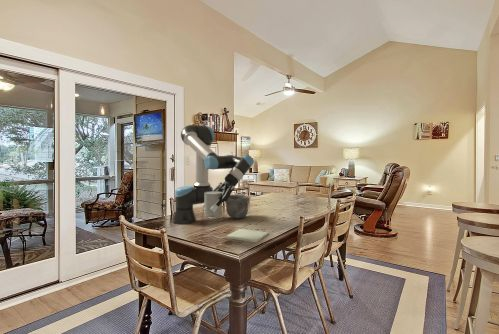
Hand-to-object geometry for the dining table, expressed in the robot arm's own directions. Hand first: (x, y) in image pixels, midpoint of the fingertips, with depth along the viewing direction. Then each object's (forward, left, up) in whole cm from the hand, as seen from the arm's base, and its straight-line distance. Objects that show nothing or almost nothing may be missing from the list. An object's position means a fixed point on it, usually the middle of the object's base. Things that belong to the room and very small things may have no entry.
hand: (208, 208), depth 147 cm
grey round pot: (-10, +50, -16) cm, 53 cm away
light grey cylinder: (+1, +3, -4) cm, 5 cm away
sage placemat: (+17, +14, -16) cm, 27 cm away
